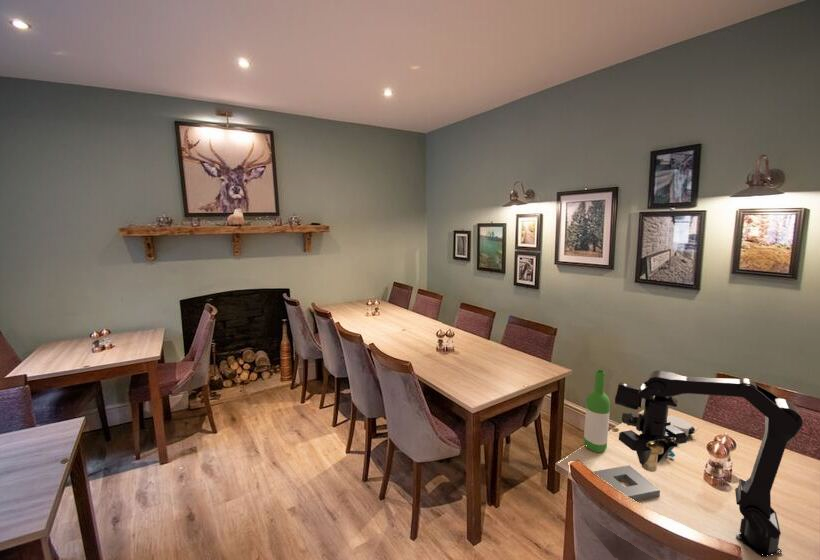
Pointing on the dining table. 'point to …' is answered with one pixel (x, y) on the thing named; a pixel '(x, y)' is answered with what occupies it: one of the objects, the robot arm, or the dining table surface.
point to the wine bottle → (597, 416)
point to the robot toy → (682, 425)
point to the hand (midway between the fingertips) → (649, 463)
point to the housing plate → (639, 485)
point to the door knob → (653, 455)
